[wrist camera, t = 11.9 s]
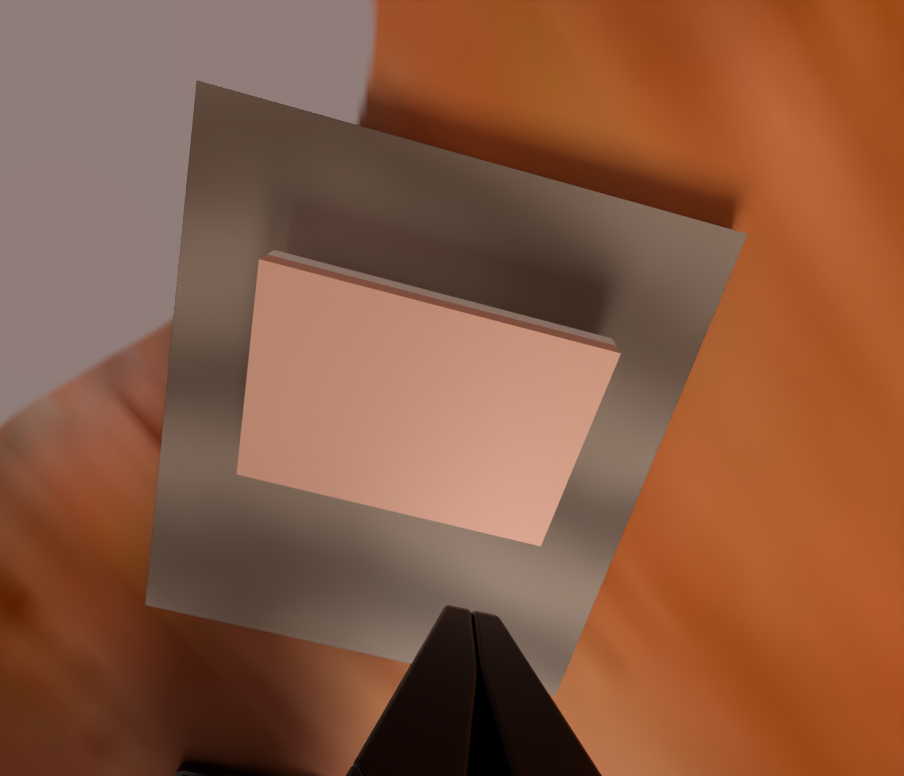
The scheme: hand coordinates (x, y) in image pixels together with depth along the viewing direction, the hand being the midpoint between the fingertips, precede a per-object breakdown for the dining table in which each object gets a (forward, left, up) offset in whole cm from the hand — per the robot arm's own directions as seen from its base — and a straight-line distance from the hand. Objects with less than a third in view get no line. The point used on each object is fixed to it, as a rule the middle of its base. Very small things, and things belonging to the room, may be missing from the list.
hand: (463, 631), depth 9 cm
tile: (0, +1, -8) cm, 8 cm away
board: (-2, +1, -11) cm, 11 cm away
